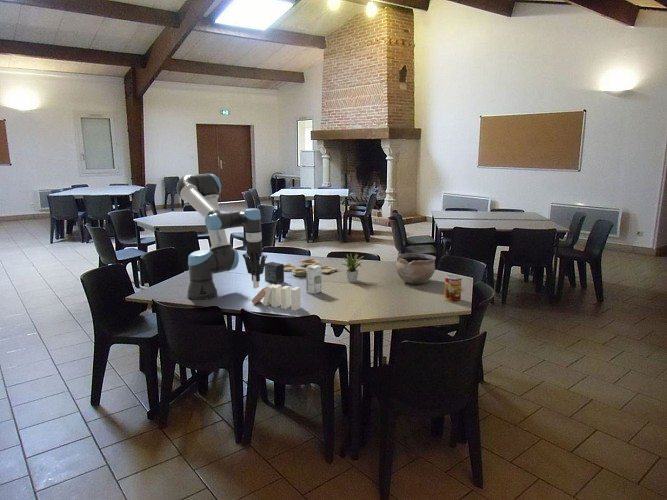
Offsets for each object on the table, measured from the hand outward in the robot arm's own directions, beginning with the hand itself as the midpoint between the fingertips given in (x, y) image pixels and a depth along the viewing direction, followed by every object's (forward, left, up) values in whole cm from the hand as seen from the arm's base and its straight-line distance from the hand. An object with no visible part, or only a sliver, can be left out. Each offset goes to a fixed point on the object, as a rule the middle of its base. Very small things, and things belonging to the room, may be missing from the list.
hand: (256, 287), depth 245 cm
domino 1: (-1, 0, -7) cm, 7 cm away
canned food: (+88, +41, -8) cm, 97 cm away
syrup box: (+18, +27, -8) cm, 34 cm away
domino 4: (+17, 0, -8) cm, 18 cm away
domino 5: (+22, 0, -8) cm, 24 cm away
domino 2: (+6, 0, -8) cm, 10 cm away
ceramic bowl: (+62, +66, -8) cm, 91 cm away
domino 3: (+11, 0, -8) cm, 14 cm away
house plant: (+29, +54, -8) cm, 62 cm away
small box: (-13, +38, -8) cm, 41 cm away
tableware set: (-8, +68, -9) cm, 69 cm away
